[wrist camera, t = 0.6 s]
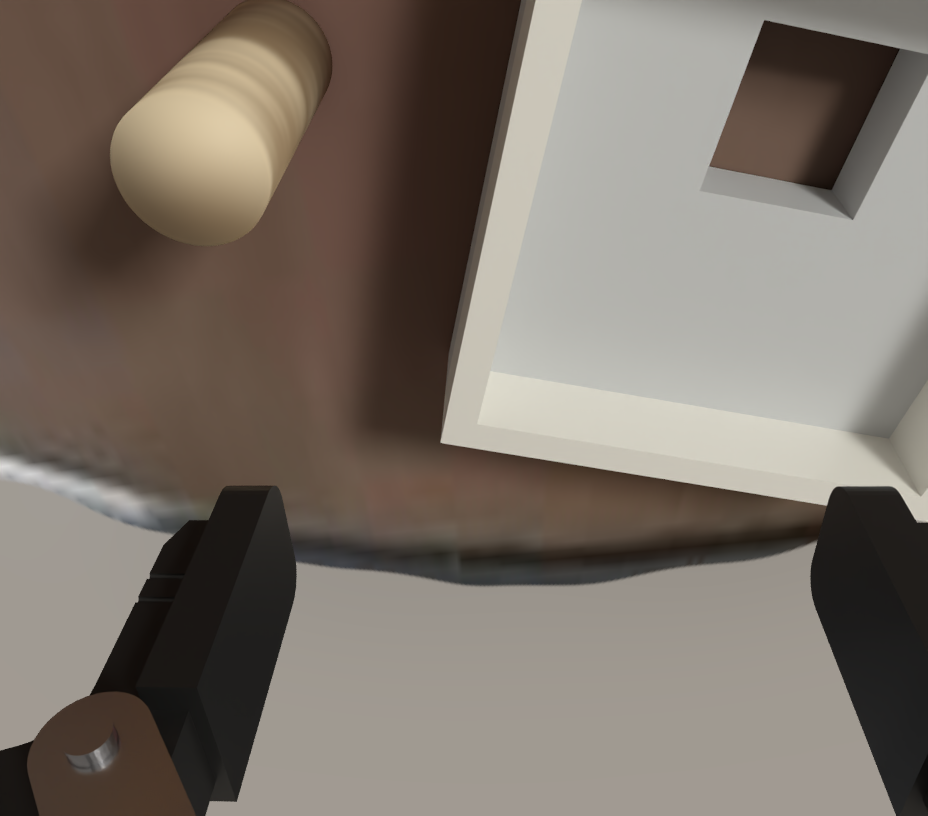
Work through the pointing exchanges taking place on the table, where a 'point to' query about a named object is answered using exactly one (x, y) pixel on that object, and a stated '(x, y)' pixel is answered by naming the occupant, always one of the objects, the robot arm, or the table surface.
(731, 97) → the tray
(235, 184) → the peg
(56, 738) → the robot arm
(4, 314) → the table surface
